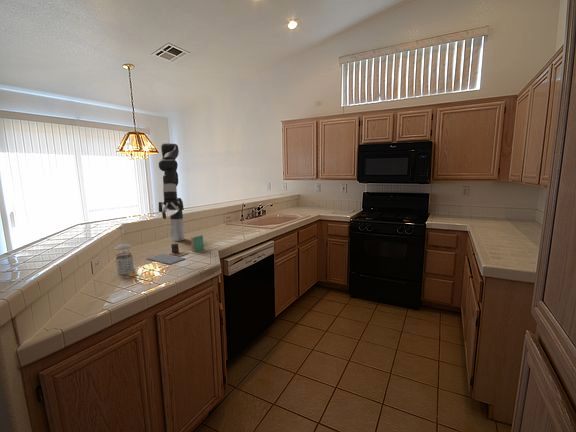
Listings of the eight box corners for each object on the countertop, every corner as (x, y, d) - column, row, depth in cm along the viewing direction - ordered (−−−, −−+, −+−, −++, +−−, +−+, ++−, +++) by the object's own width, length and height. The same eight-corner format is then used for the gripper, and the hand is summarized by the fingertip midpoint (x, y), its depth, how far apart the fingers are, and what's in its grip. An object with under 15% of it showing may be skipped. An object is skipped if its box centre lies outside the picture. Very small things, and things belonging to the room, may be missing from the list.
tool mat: (146, 259, 173) (146, 258, 173) (162, 254, 183) (162, 253, 183) (169, 264, 162) (169, 263, 162) (185, 259, 172) (185, 258, 172)
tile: (192, 251, 188) (190, 237, 186) (201, 248, 195) (200, 234, 193) (194, 252, 187) (193, 237, 185) (203, 249, 194) (202, 235, 192)
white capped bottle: (131, 266, 160) (126, 224, 156) (140, 271, 153) (135, 226, 149) (112, 271, 152) (106, 227, 148) (120, 276, 145) (115, 229, 141)
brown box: (169, 255, 182) (168, 244, 181) (178, 252, 188) (177, 242, 187) (179, 257, 177) (179, 246, 176) (188, 254, 183) (187, 244, 182)
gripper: (184, 191, 174) (185, 217, 173) (161, 193, 174) (162, 219, 173) (179, 190, 167) (181, 217, 166) (155, 192, 166) (157, 219, 166)
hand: (171, 218), depth 170 cm, fingers open, 8 cm apart
